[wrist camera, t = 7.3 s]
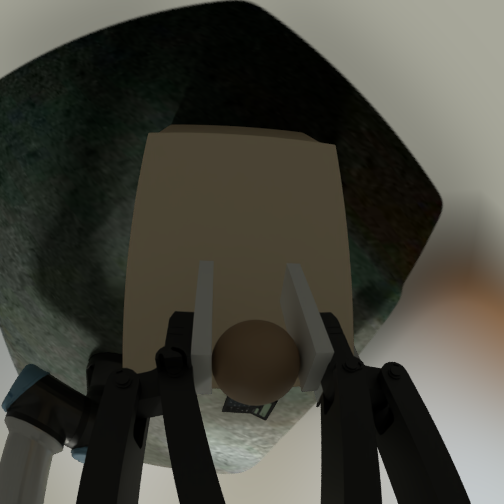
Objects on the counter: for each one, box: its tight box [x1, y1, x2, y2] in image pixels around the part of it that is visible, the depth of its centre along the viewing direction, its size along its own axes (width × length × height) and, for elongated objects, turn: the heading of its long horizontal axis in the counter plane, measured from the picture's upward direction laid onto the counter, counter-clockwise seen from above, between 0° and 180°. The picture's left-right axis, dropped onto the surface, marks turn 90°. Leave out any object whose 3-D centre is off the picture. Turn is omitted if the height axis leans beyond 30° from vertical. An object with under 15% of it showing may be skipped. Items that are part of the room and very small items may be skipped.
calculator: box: [222, 396, 278, 420], centre depth 66 cm, size 9×12×3 cm
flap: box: [123, 133, 354, 406], centre depth 18 cm, size 17×20×10 cm
